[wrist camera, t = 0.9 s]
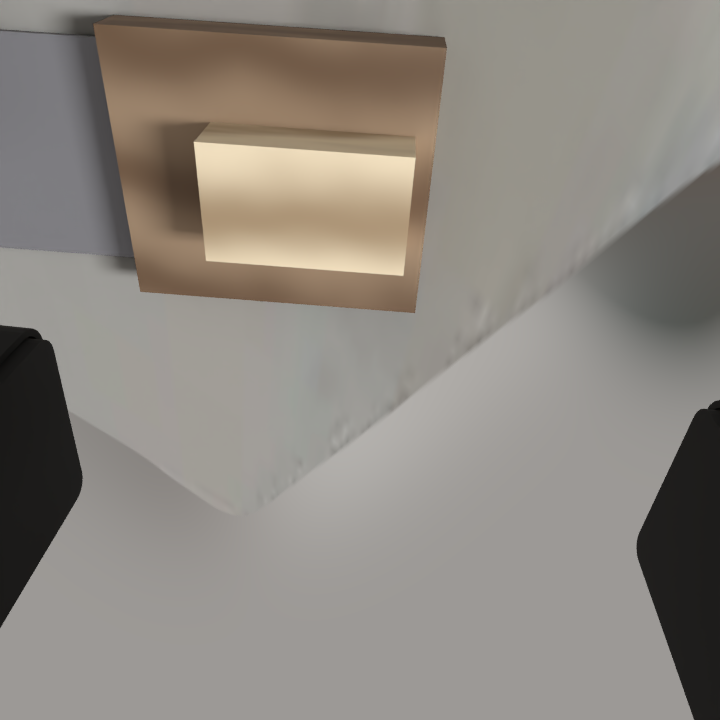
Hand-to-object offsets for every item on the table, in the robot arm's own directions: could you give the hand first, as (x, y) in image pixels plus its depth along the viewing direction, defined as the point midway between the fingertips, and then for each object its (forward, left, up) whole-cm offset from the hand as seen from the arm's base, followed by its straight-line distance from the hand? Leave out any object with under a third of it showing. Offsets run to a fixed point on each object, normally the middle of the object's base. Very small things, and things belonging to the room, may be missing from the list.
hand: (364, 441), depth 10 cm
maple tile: (+6, -4, -25) cm, 26 cm away
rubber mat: (+6, -21, -27) cm, 35 cm away
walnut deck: (+6, -6, -27) cm, 28 cm away
